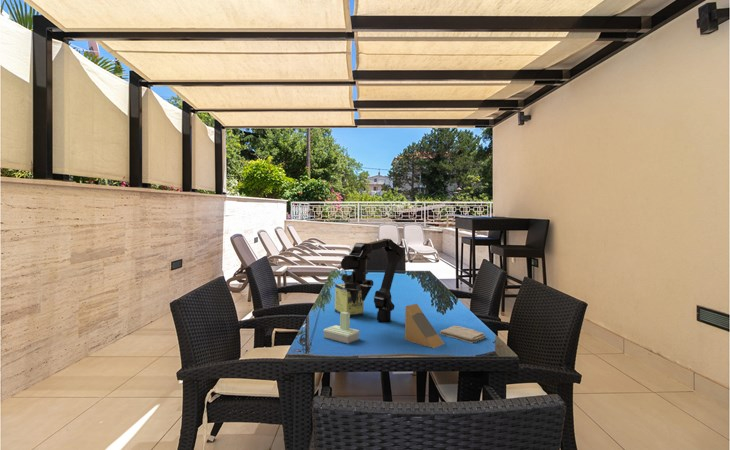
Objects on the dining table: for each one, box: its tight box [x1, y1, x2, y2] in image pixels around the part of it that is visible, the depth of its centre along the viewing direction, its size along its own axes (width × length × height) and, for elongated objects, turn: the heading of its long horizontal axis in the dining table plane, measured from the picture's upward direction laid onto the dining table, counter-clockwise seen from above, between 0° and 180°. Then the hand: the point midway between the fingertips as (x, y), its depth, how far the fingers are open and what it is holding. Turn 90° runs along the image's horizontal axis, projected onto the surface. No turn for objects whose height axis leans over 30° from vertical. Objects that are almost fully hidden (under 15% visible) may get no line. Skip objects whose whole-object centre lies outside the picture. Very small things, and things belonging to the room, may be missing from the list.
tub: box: [323, 331, 360, 345], centre depth 169 cm, size 8×13×3 cm, turn 55°
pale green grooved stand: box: [322, 312, 361, 337], centre depth 169 cm, size 8×13×8 cm, turn 55°
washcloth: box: [439, 325, 487, 344], centre depth 175 cm, size 12×18×3 cm, turn 45°
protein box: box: [334, 283, 365, 318], centre depth 213 cm, size 10×16×16 cm
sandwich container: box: [404, 303, 445, 349], centre depth 166 cm, size 9×15×15 cm, turn 46°
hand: (358, 302), depth 185 cm, fingers open, 9 cm apart
